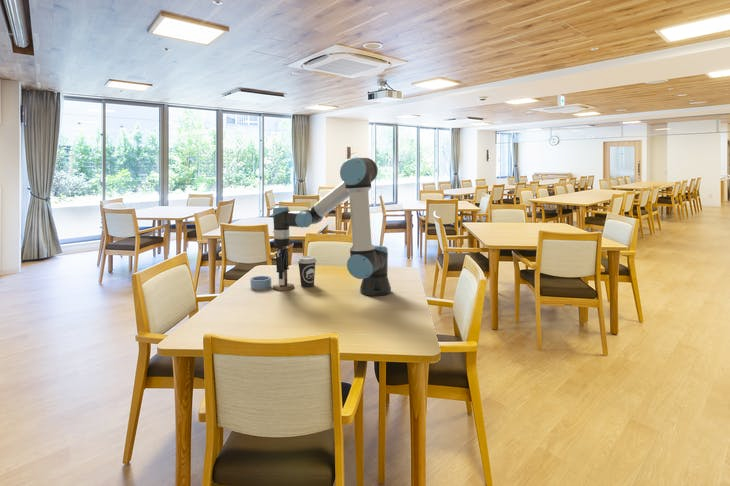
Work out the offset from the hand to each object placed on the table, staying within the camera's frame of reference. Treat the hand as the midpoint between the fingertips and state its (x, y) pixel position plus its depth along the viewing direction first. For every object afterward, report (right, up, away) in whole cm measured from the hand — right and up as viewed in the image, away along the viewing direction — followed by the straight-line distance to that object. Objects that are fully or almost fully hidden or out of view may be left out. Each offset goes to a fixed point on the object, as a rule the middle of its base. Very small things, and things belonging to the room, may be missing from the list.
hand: (283, 283), depth 236 cm
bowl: (-12, -2, +2) cm, 12 cm away
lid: (0, -2, 0) cm, 2 cm away
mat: (0, -3, 0) cm, 3 cm away
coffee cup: (+12, -2, +5) cm, 13 cm away
